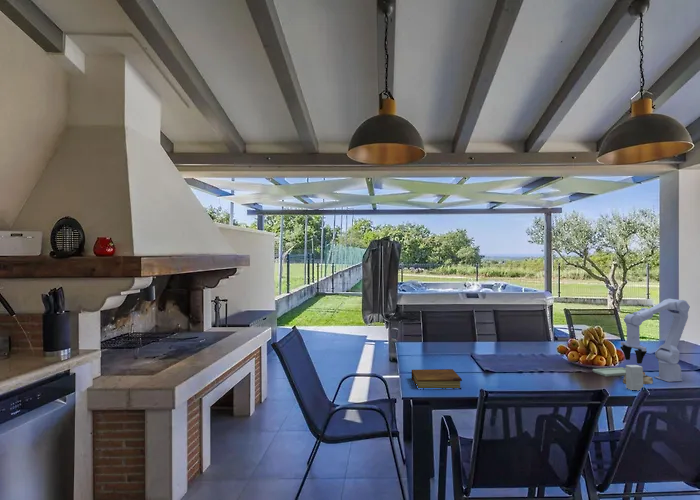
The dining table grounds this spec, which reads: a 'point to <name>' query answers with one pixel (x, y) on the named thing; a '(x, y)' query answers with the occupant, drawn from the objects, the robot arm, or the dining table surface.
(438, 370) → the diary
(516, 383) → the dining table surface
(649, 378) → the tan rectangular frame
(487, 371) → the dining table surface
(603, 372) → the tray
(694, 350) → the dining table surface
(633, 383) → the skincare box
